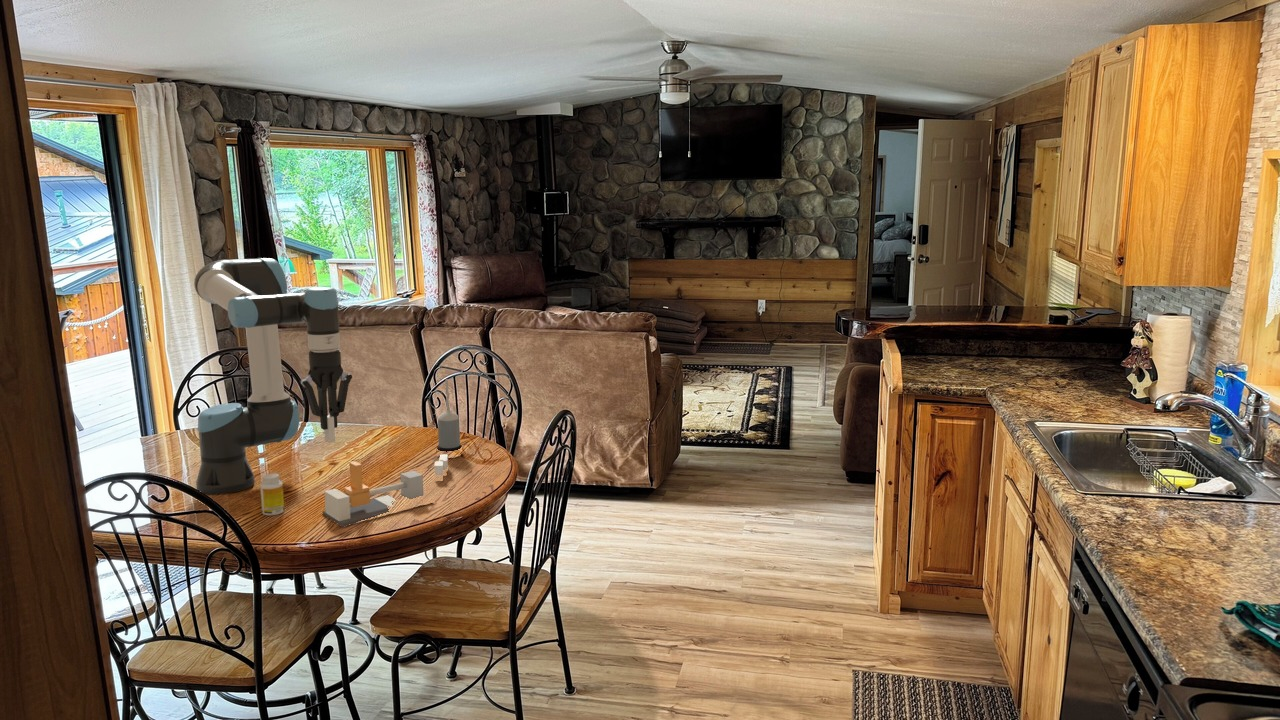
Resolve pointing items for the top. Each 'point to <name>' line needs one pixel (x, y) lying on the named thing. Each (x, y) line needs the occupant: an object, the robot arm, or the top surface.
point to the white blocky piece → (441, 464)
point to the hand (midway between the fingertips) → (330, 440)
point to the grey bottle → (448, 428)
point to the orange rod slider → (357, 486)
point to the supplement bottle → (272, 495)
